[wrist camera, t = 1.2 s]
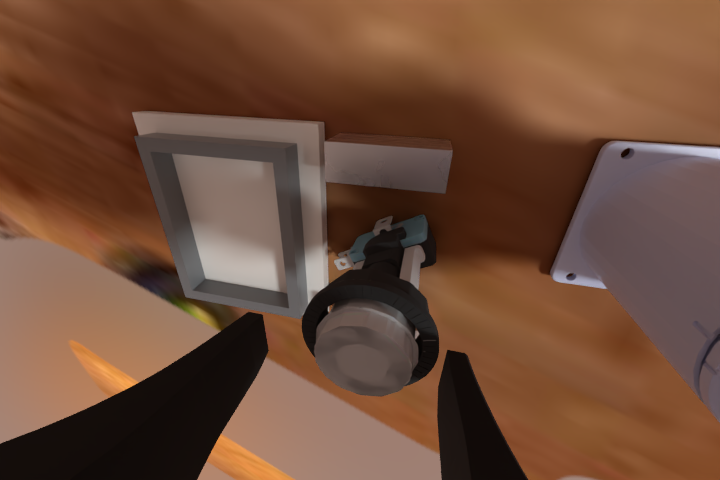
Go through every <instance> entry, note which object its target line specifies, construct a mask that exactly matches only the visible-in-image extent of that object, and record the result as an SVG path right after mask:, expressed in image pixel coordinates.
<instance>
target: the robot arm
mask: <svg viewBox="0 0 720 480" xmlns="http://www.w3.org/2000/svg"><path fill="white" fill-rule="evenodd" d="M626 148H629V149H630V152H629V154H628V155H627V156H625V157H622V158H621V153H622V151H623V150H625V149H626ZM570 273H574V274H573V275H572V276H570V277H566V276H567V275H568V274H570ZM550 275H551V277H552V278H553V280H555V281H557V282H562V283H569V284H576V285H583V286H590V287H597V288H604V289H608V290H609V291H610V292H611V294H612V295H613V296H614V297H615V298H616V300H617V301H618V302H619V303H620V304H621V306H622V307H623V308H624V309H625V310H626V312H627V313H628V314H629V315H630V316H631V317H632V319H633V320H634V321H635V322H636V323H637V325H638V326H639V327H640V328H641V329H642V331H643V332H644V333H645V334H646V335H647V337H648V338H649V339H650V340H651V341H652V342H653V344H654V345H655V346H656V347H657V348H658V350H659V351H660V352H661V353H662V354H663V356H664V357H665V358H666V359H667V360H668V361H669V363H670V364H671V365H672V366H673V367H674V369H675V370H676V371H677V372H678V373H679V375H680V376H681V377H682V378H683V379H684V381H685V382H686V383H687V384H688V385H689V386H690V388H691V389H692V390H693V391H694V392H695V394H696V395H697V396H698V397H699V398H700V400H701V401H702V402H703V403H704V404H705V405H706V406H707V408H708V409H709V411H710V412H711V413H712V414H713V415H714V417H715V418H716V419H717V420H718V421H719V423H720V147H712V146H696V145H680V144H664V143H648V142H632V141H610V142H608V143H606V144H605V145H604V146H603V147H602V148H601V150H600V152H599V154H598V157H597V159H596V161H595V164H594V166H593V169H592V171H591V174H590V176H589V178H588V181H587V183H586V186H585V188H584V191H583V193H582V195H581V198H580V200H579V203H578V205H577V208H576V210H575V212H574V215H573V217H572V220H571V222H570V225H569V227H568V230H567V232H566V234H565V237H564V239H563V242H562V244H561V247H560V249H559V251H558V254H557V256H556V259H555V261H554V264H553V266H552V268H551V271H550ZM268 351H269V350H268V344H267V338H266V332H265V327H264V321H263V315H262V314H257V313H252V312H248V313H246V314H245V315H243V316H242V317H241V318H239V319H238V320H236V321H235V322H233V323H232V324H231V325H229V326H228V327H226V328H225V329H224V330H222V331H221V332H219V333H218V334H216V335H215V336H213V337H212V338H211V339H209V340H208V341H206V342H205V343H203V344H202V345H200V346H199V347H197V348H196V349H194V350H193V351H191V352H190V353H188V354H186V355H185V356H183V357H182V358H180V359H179V360H177V361H175V362H174V363H172V364H171V365H169V366H168V367H166V368H164V369H162V370H161V371H159V372H157V373H156V374H154V375H152V376H150V377H149V378H147V379H145V380H143V381H141V382H139V383H138V384H136V385H134V386H132V387H130V388H128V389H126V390H124V391H122V392H120V393H118V394H116V395H114V396H112V397H110V398H108V399H106V400H104V401H102V402H100V403H98V404H96V405H94V406H91V407H89V408H87V409H85V410H83V411H80V412H78V413H76V414H74V415H71V416H69V417H67V418H64V419H62V420H60V421H57V422H55V423H52V424H50V425H48V426H45V427H43V428H40V429H38V430H35V431H32V432H30V433H27V434H25V435H22V436H19V437H17V438H14V439H11V440H9V441H6V442H3V443H1V444H0V480H197V479H198V477H199V474H200V472H201V470H202V469H203V466H204V464H205V463H206V461H207V459H208V457H209V455H210V453H211V451H212V449H213V447H214V445H215V443H216V441H217V440H218V438H219V436H220V434H221V433H222V431H223V429H224V428H225V426H226V425H227V423H228V421H229V420H230V418H231V416H232V415H233V413H234V412H235V410H236V409H237V407H238V405H239V404H240V402H241V400H242V399H243V397H244V396H245V394H246V392H247V391H248V389H249V388H250V386H251V384H252V383H253V381H254V379H255V378H256V376H257V374H258V372H259V370H260V368H261V366H262V364H263V362H264V360H265V357H266V355H267V353H268ZM437 418H438V433H439V447H440V460H441V475H442V480H528V479H527V477H526V475H525V474H524V472H523V470H522V469H521V467H520V465H519V463H518V462H517V460H516V458H515V456H514V455H513V453H512V451H511V449H510V447H509V446H508V444H507V442H506V440H505V438H504V436H503V434H502V433H501V431H500V429H499V427H498V425H497V423H496V421H495V419H494V417H493V415H492V413H491V410H490V408H489V406H488V404H487V402H486V400H485V398H484V396H483V394H482V391H481V389H480V387H479V384H478V382H477V380H476V377H475V375H474V372H473V370H472V367H471V364H470V362H469V359H468V356H467V355H466V354H465V353H461V352H456V351H450V350H447V354H446V358H445V362H444V366H443V370H442V374H441V378H440V382H439V386H438V415H437Z"/></svg>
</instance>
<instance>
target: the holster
mask: <svg viewBox="0 0 720 480" xmlns="http://www.w3.org/2000/svg"><path fill="white" fill-rule="evenodd" d="M452 153H453V149H452V145H451V142H450V140H448V139H433V138H418V137H403V136H388V135H374V134H359V133H344V132H341V133H339V134H337V135H335V136H333V137H331V138H329V139H327V140H326V141H324V156H325V182H333V183H343V184H353V185H363V186H373V187H383V188H393V189H403V190H413V191H423V192H433V193H443V194H445V193H446V187H447V182H448V176H449V170H450V165H451V159H452ZM334 304H335V303H334ZM334 304H333V306H334ZM332 309H333V307H332ZM332 309H331V311H332ZM331 311H330V313H331ZM418 335H419V332H418V330H417V328H416V331H415V339H416V338H417V337H418Z"/></svg>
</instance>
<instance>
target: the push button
mask: <svg viewBox="0 0 720 480" xmlns="http://www.w3.org/2000/svg"><path fill="white" fill-rule="evenodd" d="M392 219H393V216H389V217H386V218H383V219H380V220H378V221H377V222H376V224H375V227H374V230H373V231H372V232H369V233H366V234H363V235H360V236H359V237H357V239H356V241H355V243H354V245H353V247H351V249H350V250H347V251H344V252H340V253H339V254H338V256H339V258H340V259H336V260H335V261H334V263H335V264H336V266H337V268H338V270H342V269H346V268H349V267H353V270H349V271H347V272H346V273H344V274H343V275H342V276H340V277H339V278H337V279H336V280H334V281H333V282H332V283H330V284H329V285H327V286H326V287H325V288H323V289H322V290H321V291H319V292H318V293H317V294H316V295H315V296H314V297H313V298H312V300H311V301H310V303H309V305H308V306H307V308H306V310H305V312H304V315H303V319H302V332H303V337H304V340H305V342H306V345H307V347H308V348H309V350H310V352H311V353H312V354H313V356H314V357H315V358H316V363H317V364H318V366H319V368H320V370H321V371H322V372H323V373H324V375H325V376H326V377H327V378H329V379H330V380H331V381H333V382H334V383H335V384H336V385H338V386H340V387H341V388H343V389H346V390H349V391H351V392H354V393H356V394H360V395H368V396H384V395H388V394H391V393H395V392H398V391H400V390H402V388H403V387H404V386H407V385H410V384H413V383H415V382H417V381H419V380H420V379H422V378H423V377H425V376H426V375H427V374H428V373H429V372H430V371H431V370H432V368H433V367H434V365H435V363H436V361H437V358H438V353H439V336H438V331H437V327H436V325H435V323H434V320H433V319H432V317H431V315H430V314H429V309H428V303H427V299H426V298H425V297H424V296H423V295H422V294H421V293H420V291H419V290H418V288H419V276H420V268H424V267H428V266H431V265H434V264H435V263H436V242H435V240H434V238H433V235H432V232H431V230H430V227H429V225H428V222H427V220H426V217H425V215H418V216H415V217H414V218H411V219H408V220H405V221H402V222H399V223H396V224H393V225H390V224H391V222H392ZM385 220H387V221H386V222H384V223H381V222H383V221H385ZM344 254H347V256H346V257H344ZM341 261H342V262H343V263H346V265H345V266H342V265H341V264H340V262H341ZM334 303H335V304H334ZM332 304H334V306H333V309H332V311H331V313H328V307H329V306H330V305H332ZM416 328H417V330H418V332H419V335H418V337H417V338H416V339H415V331H416Z"/></svg>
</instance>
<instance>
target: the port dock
mask: <svg viewBox="0 0 720 480" xmlns="http://www.w3.org/2000/svg"><path fill="white" fill-rule="evenodd" d="M132 115H133V118H134V121H135V124H136V127H137V131H138V134H139V135H138V136H134V138H135V141H136V144H137V147H138V151H139V154H140V157H141V160H142V163H143V166H144V169H145V172H146V175H147V178H148V182H149V185H150V188H151V191H152V194H153V197H154V200H155V203H156V206H157V209H158V213H159V216H160V219H161V222H162V225H163V228H164V231H165V234H166V237H167V240H168V244H169V247H170V250H171V253H172V256H173V259H174V262H175V265H176V268H177V271H178V275H179V278H180V281H181V284H182V287H183V290H184V293H185V296H186V297H188V298H193V299H199V300H204V301H209V302H214V303H220V304H225V305H230V306H235V307H240V308H246V309H251V310H256V311H261V312H267V313H272V314H277V315H282V316H288V317H293V318H298V319H301V317H302V315H304V312H305V310H306V308H307V306H308V305H309V303H310V301H311V300H312V298H313V297H314V296H315V295H316V294H317V293H318V292H319V291H321V290H322V289H323V288H325V287H326V286H327V285H329V284H328V245H327V207H326V182H325V156H324V141H325V130H324V122H318V121H302V120H286V119H269V118H253V117H237V116H221V115H204V114H188V113H172V112H156V111H139V112H132ZM328 312H329V307H328Z"/></svg>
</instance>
